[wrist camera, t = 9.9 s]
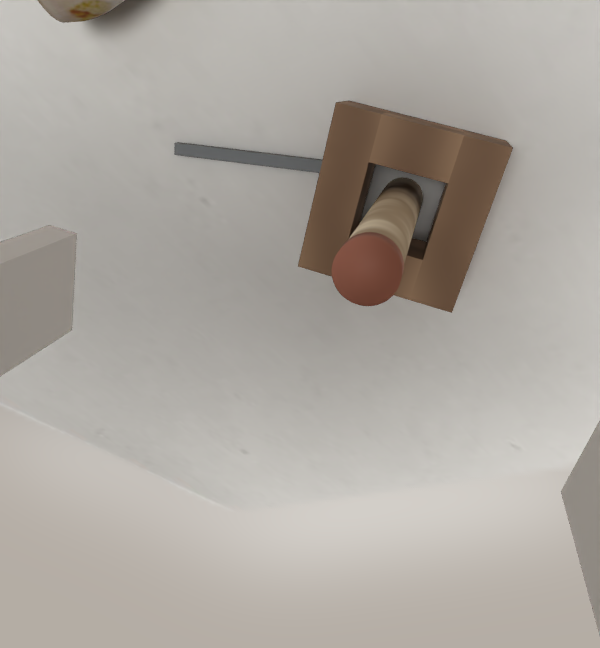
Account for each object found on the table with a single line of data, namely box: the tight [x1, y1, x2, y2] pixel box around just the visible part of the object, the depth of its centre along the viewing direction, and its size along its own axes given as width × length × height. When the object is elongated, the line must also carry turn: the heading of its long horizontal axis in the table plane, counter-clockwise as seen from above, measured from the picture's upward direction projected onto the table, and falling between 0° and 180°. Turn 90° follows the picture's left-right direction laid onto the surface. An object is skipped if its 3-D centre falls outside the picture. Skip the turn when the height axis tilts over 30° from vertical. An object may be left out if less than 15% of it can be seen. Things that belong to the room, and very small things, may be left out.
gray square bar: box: [175, 142, 322, 173], centre depth 35 cm, size 10×1×1 cm, turn 85°
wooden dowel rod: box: [332, 178, 423, 306], centre depth 27 cm, size 2×2×15 cm
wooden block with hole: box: [298, 101, 513, 313], centre depth 32 cm, size 9×9×4 cm
